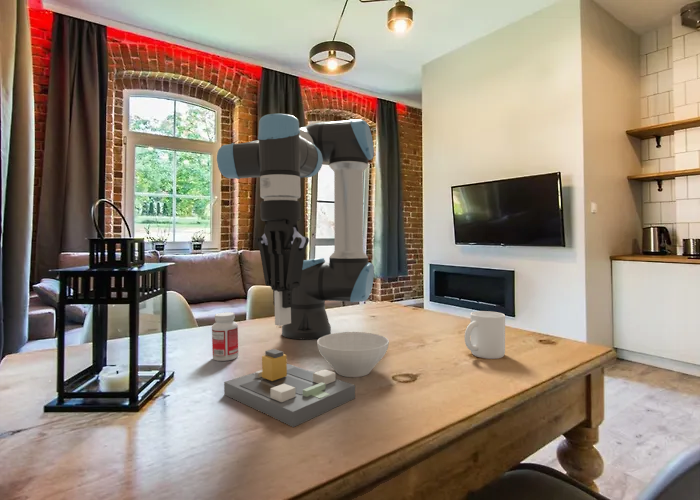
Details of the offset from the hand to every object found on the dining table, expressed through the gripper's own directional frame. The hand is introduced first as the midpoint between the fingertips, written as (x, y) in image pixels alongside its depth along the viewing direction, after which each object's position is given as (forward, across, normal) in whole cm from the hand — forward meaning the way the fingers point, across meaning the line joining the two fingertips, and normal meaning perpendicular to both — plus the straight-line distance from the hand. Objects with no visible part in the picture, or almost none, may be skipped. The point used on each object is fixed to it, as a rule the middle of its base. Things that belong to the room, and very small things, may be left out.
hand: (283, 323), depth 76 cm
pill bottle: (+14, -29, +5) cm, 33 cm away
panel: (+13, +2, -1) cm, 14 cm away
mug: (+14, +19, +48) cm, 54 cm away
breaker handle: (+11, -2, -1) cm, 11 cm away
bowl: (+14, +2, +18) cm, 23 cm away
